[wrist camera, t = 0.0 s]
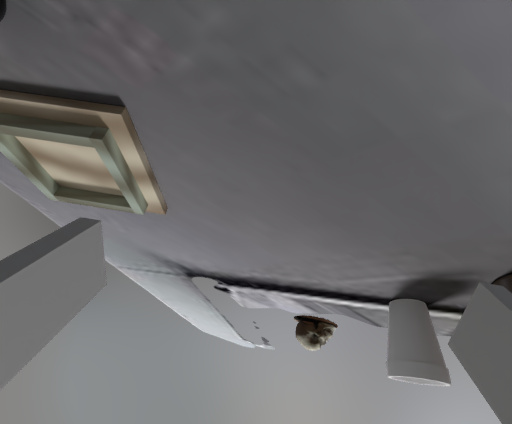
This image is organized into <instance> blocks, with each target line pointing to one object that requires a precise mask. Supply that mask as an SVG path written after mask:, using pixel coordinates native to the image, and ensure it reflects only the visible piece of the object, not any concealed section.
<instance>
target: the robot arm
mask: <svg viewBox="0 0 512 424" xmlns="http://www.w3.org/2000/svg"><path fill="white" fill-rule="evenodd" d="M106 285H107V282H106V271H105V259H104V248H103V236H102V225H101V221H100V220H94V219H88V218H82V217H80V218H78V219H77V220H75V221H73V222H71V223H69V224H67V225H65V226H64V227H62V228H60V229H58V230H56V231H54V232H53V233H51V234H49V235H47V236H45V237H43V238H41V239H40V240H38V241H36V242H34V243H32V244H30V245H28V246H27V247H25V248H23V249H21V250H19V251H18V252H15V253H14V254H12V255H10V256H9V257H6V258H5V259H3V260H1V261H0V390H1V389H2V388H3V387H4V386H5V385H6V384H7V383H8V382H9V381H10V380H11V379H12V378H13V377H14V376H15V375H16V374H17V373H18V372H19V371H20V370H21V369H22V368H23V367H24V366H25V365H26V364H27V363H28V362H29V361H30V360H31V359H32V358H33V357H34V356H35V355H36V354H37V353H38V352H39V351H40V350H41V349H42V348H43V347H44V346H45V345H46V344H47V343H48V342H49V341H50V340H51V339H52V338H53V337H54V336H55V335H56V334H58V332H59V331H60V330H62V328H63V327H64V326H66V325H67V323H69V321H70V320H72V319H73V318H74V317H75V316H76V315H77V313H78V312H80V311H81V309H82V308H84V307H85V306H86V305H87V304H88V303H89V302H90V300H92V299H93V298H94V297H95V296H96V295H97V294H98V293H99V292H100V291H101V290H102V289H103V288H104V287H105V286H106ZM448 345H449V347H450V348H451V349H452V351H453V352H454V354H455V355H456V357H457V358H458V360H459V361H460V363H461V364H462V366H463V367H464V369H465V370H466V371H467V373H468V374H469V376H470V377H471V379H472V380H473V382H474V383H475V385H476V386H477V388H478V389H479V391H480V392H481V394H482V395H483V396H484V398H485V399H486V401H487V402H488V404H489V405H490V407H491V408H492V410H493V411H494V413H495V414H496V416H497V417H498V419H499V420H500V421H501V423H502V424H512V293H511V292H510V291H508V290H507V289H506V288H505V287H504V286H500V285H493V284H487V283H481V282H479V284H478V286H477V288H476V290H475V292H474V294H473V296H472V298H471V299H470V301H469V303H468V305H467V307H466V309H465V311H464V313H463V315H462V317H461V319H460V321H459V323H458V325H457V327H456V329H455V331H454V333H453V335H452V337H451V339H450V341H449V343H448Z"/></svg>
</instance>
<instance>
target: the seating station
mask: <svg viewBox="0 0 512 424" xmlns="http://www.w3.org/2000/svg"><path fill="white" fill-rule="evenodd" d="M0 151H1V152H2V153H3V154H4V155H5V156H6V157H7V158H8V159H9V160H10V161H11V162H12V163H13V164H14V165H15V166H16V167H17V168H18V169H19V170H20V171H21V172H22V173H23V174H24V175H25V176H26V177H27V178H28V179H29V180H30V181H31V182H32V183H33V184H34V185H35V186H36V187H37V188H38V189H40V190H41V191H42V192H43V193H44V194H45V195H46V196H47V197H48V198H49V199H50V200H55V201H61V202H68V203H74V204H80V205H86V206H93V207H99V208H105V209H111V210H118V211H124V212H130V213H136V214H142V215H144V213H145V211H146V212H152V213H159V214H166V211H167V209H168V208H167V206H166V203H165V201H164V198H163V196H162V193H161V191H160V189H159V186H158V184H157V181H156V179H155V177H154V174H153V172H152V169H151V167H150V164H149V162H148V160H147V157H146V155H145V152H144V150H143V148H142V145H141V143H140V140H139V138H138V135H137V133H136V131H135V128H134V126H133V123H132V121H131V118H130V116H129V114H128V111H127V109H126V107H121V106H114V105H107V104H100V103H93V102H86V101H79V100H72V99H65V98H57V97H50V96H43V95H36V94H29V93H22V92H15V91H8V90H1V89H0Z"/></svg>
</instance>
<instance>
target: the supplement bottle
mask: <svg viewBox="0 0 512 424" xmlns="http://www.w3.org/2000/svg"><path fill="white" fill-rule="evenodd" d="M5 13H6V0H0V22H1V20H2V19H3V18H4V15H5Z"/></svg>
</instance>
